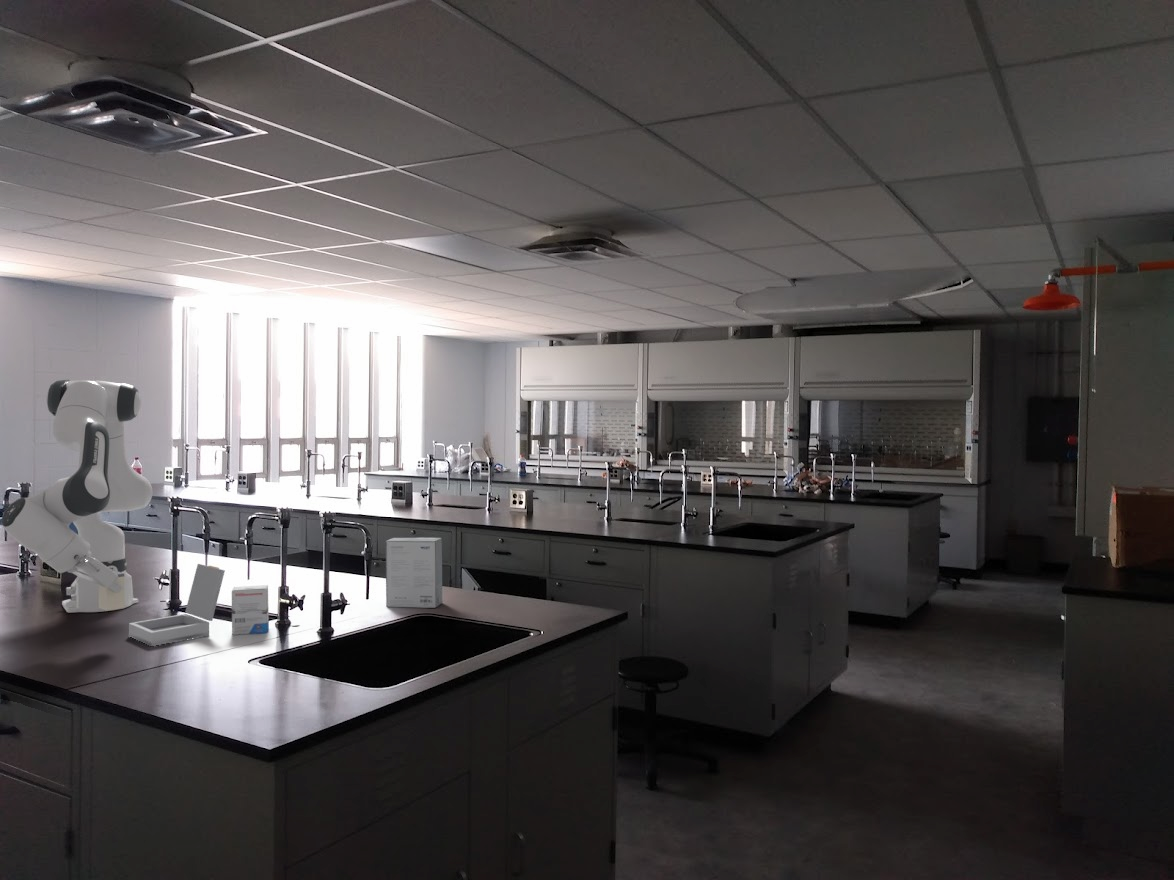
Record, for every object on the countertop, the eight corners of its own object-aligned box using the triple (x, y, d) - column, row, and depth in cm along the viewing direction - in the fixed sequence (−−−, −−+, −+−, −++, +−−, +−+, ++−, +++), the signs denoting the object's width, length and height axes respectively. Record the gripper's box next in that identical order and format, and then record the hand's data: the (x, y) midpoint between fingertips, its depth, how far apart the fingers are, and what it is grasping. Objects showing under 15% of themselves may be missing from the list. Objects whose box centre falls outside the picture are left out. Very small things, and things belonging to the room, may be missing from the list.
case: (128, 637, 209) (128, 623, 209) (185, 626, 219) (185, 613, 219) (151, 647, 200) (151, 632, 199) (209, 635, 210) (209, 622, 210)
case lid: (197, 563, 222) (203, 563, 223) (185, 612, 219) (191, 612, 220) (222, 569, 212) (227, 570, 214) (209, 620, 210) (215, 621, 211)
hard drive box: (443, 603, 250) (443, 537, 249) (436, 608, 242) (436, 541, 242) (393, 601, 251) (393, 536, 251) (384, 607, 244) (384, 540, 243)
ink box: (269, 628, 218) (269, 584, 218) (267, 633, 213) (267, 588, 213) (234, 630, 216) (234, 586, 215) (231, 635, 211) (231, 590, 211)
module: (98, 607, 200) (98, 573, 200) (116, 604, 203) (116, 570, 203) (106, 611, 197) (106, 575, 197) (124, 608, 200) (124, 573, 200)
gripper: (95, 548, 188) (140, 584, 195) (64, 538, 201) (108, 572, 209) (73, 570, 185) (120, 606, 192) (44, 558, 198) (89, 592, 206)
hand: (114, 588), depth 201 cm, fingers closed on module, 5 cm apart
